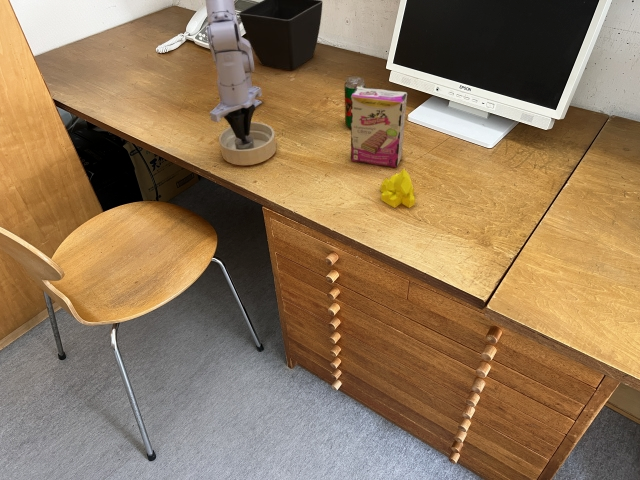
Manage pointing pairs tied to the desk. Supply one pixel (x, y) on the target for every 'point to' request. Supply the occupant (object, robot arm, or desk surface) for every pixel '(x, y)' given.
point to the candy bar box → (377, 126)
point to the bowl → (261, 152)
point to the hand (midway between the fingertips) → (242, 136)
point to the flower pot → (283, 31)
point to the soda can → (349, 90)
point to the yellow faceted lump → (398, 190)
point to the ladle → (244, 141)
